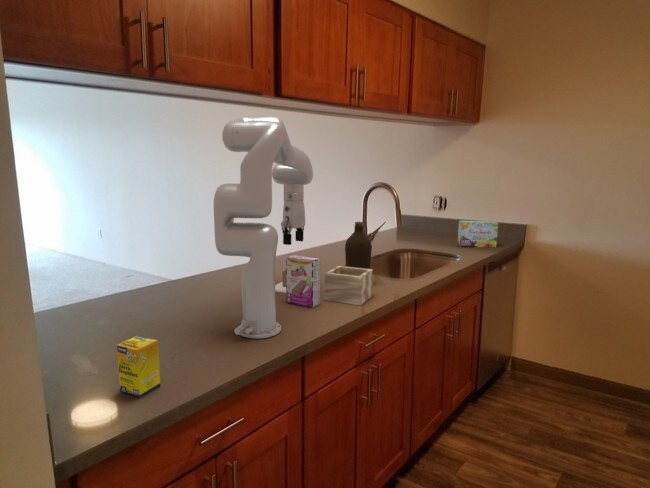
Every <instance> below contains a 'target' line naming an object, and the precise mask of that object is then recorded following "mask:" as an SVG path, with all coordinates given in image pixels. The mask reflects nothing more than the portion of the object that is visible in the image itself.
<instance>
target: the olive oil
mask: <svg viewBox="0 0 650 488" xmlns="http://www.w3.org/2000/svg"><path fill="white" fill-rule="evenodd" d="M363 224H364V222H363V221H355V222H354V232H352V233H351V235H350V236H348V238H347V239H346V242H345V245H344V252H345V253H344V255H345V256H344V257H345V266H346V267H355V268H364V269H371V264H372V263H371V262H372V261H371V260H372V250H373V246H372V241H371V240H370V238H369V237H368V236H367V234H366V233H365V231H364V225H363Z"/></svg>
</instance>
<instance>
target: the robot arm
mask: <svg viewBox="0 0 650 488" xmlns="http://www.w3.org/2000/svg"><path fill="white" fill-rule="evenodd" d="M221 137H222V141H223V145H224V147H225V148H226V149H227V150H228V151H230V152H235V153H246V155H245V156H244V157H243V159H242V160H241V163H240V166H239V167H240V168H239V169H240V171H239V172H240V173H239V175H240V182H239V183H224V184H221V185H219V186H218V187H217V188H216V190H215V192H214V196H213V222H214V223H213V224H214V225H213V226H214V244H215V249H216V250H217V252H218V253H219V254H220V255H222V256H226V257H227V256H228V257H246V258H249V260H248V262H247V263H246V264H245V265H244V267H243V269H242V271H241V274H240V275H241V305H242V306H241V307H242V308H241V309H242V310H241V312H242V319H241V323H240V324H239V325H238V327H236V328H234V334H235V335H237V336H238V335H239V336H241V337H243V338H247V339H253V340H254V339H258V340H259V339H268V338H271V337H274V336H276V335H278V334H279V333H280V332H281V331H282V325H281V324H280V323H279V322H277V319H276V318H277V317H276V316H277V314H276V313H277V312H276V311H277V310H276V309H277V308H276V307H277V306H276V302H277V301H276V292H275V285H276V261H277V260H276V259H277V249H278V243H279V234H278V230H277V229H276V228H275V227H274V225H271V224H268V223H264V222H263V223H262V222H234V221H235V219H264V218H267V217H269V216H270V215H271V213H272V207H273V182H275V183H276V184H278V185H283V207H282V208H283V210H282V221H280V226H281V231H282V244H283V245H287V246H291V245H292V234H291V232H292V229H295V241H296V242H304V231H305V226H306V208H305V203H304V202H305V201H304V200H305V199H304V198H305V197H304V196H305V195H304V185H305V186H306V185H308V184H310V183H311V182H313V178H314V171H313V167H312V165H313V164H312V163H311V159H310V157H309V155H307V154H306V152H304V151H303V150H301V149H300V148H298V147H297V146H295V145H292V143H291V141H290V138H289V134H288V132H287V128H286V126H285V124H284V122H283V120H281V118H279V117H278V116H272V115H258V116H257V115H255V116H254V115H253V116H252V115H251V116H250V115H249V116H242V117H238V118H235V119H232V120H230V121H228V122H226V123H225V125H224V127H223V129H222V136H221ZM274 163H275V165H274ZM273 166H274V167H273ZM272 179H273V180H272Z"/></svg>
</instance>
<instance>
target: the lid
mask: <svg viewBox="0 0 650 488" xmlns="http://www.w3.org/2000/svg"><path fill="white" fill-rule="evenodd" d="M281 272H282V276H281V277H282V281H280V282H279V283H277V284H275V293H276V292H277V293H285V294H286V269H285V270H282V271H281Z"/></svg>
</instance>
